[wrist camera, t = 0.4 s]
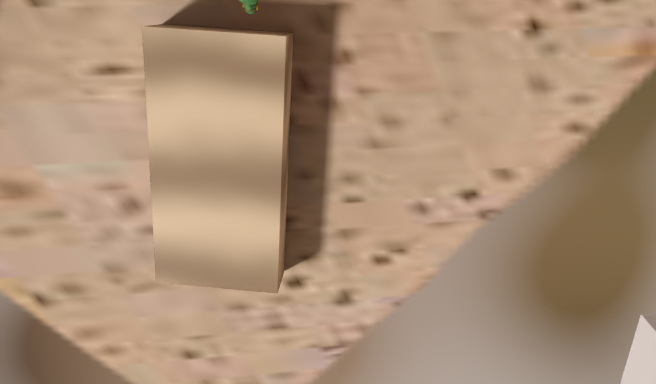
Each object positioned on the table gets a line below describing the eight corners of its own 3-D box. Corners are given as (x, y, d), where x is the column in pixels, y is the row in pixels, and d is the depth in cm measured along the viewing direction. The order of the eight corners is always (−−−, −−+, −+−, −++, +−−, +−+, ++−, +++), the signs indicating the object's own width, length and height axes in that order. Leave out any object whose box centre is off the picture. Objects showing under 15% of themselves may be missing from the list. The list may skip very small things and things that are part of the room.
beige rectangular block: (161, 24, 32) (141, 26, 29) (293, 33, 32) (286, 36, 29) (171, 261, 37) (155, 282, 35) (284, 271, 37) (277, 293, 34)
